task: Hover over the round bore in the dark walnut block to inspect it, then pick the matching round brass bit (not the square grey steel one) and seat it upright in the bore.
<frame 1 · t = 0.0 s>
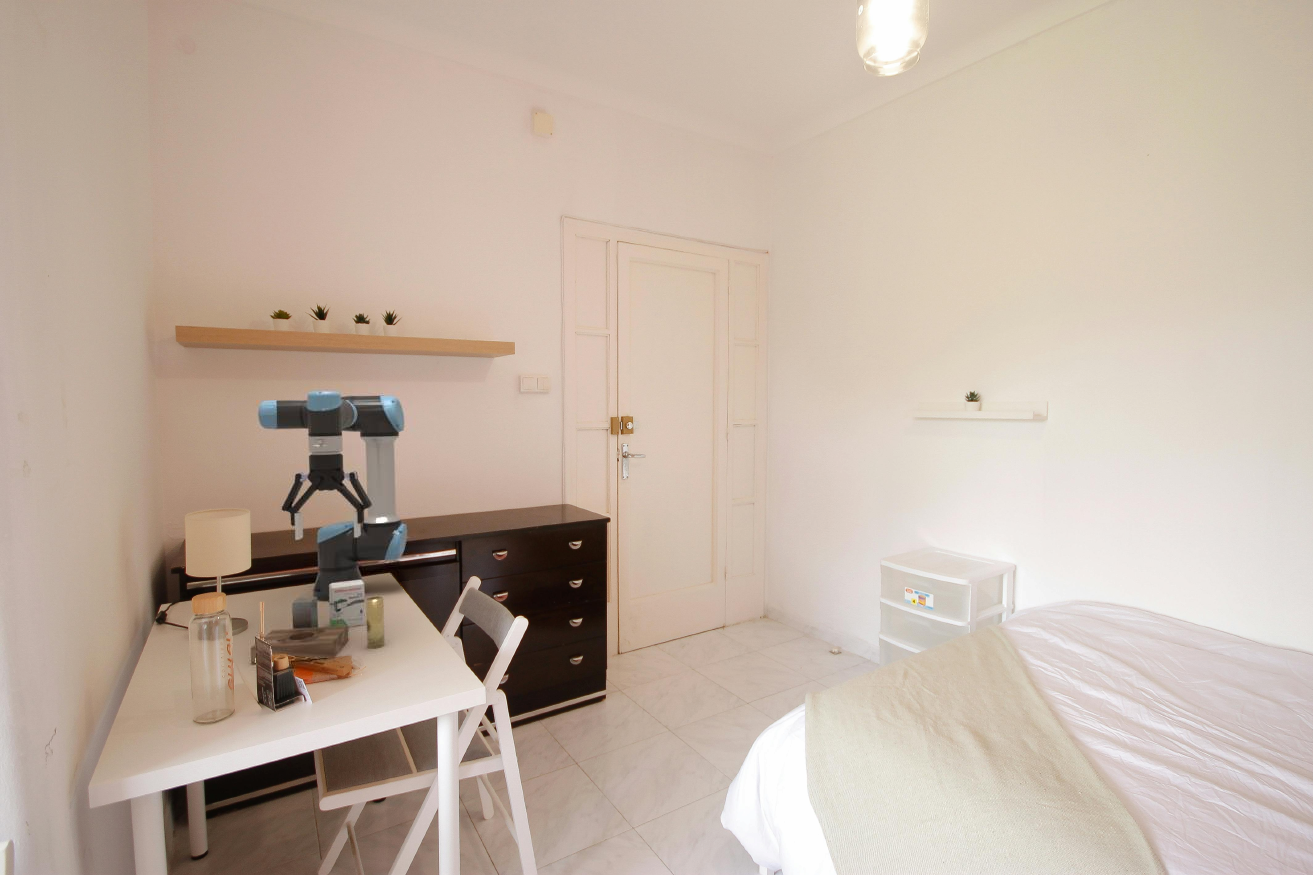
hand: (328, 537, 156), 28 cm above the table, fingers open, 13 cm apart
brass bit: (376, 645, 158), on the table
bore block: (302, 651, 155), on the table
ink box: (347, 625, 174), on the table
square bit: (306, 636, 165), on the table
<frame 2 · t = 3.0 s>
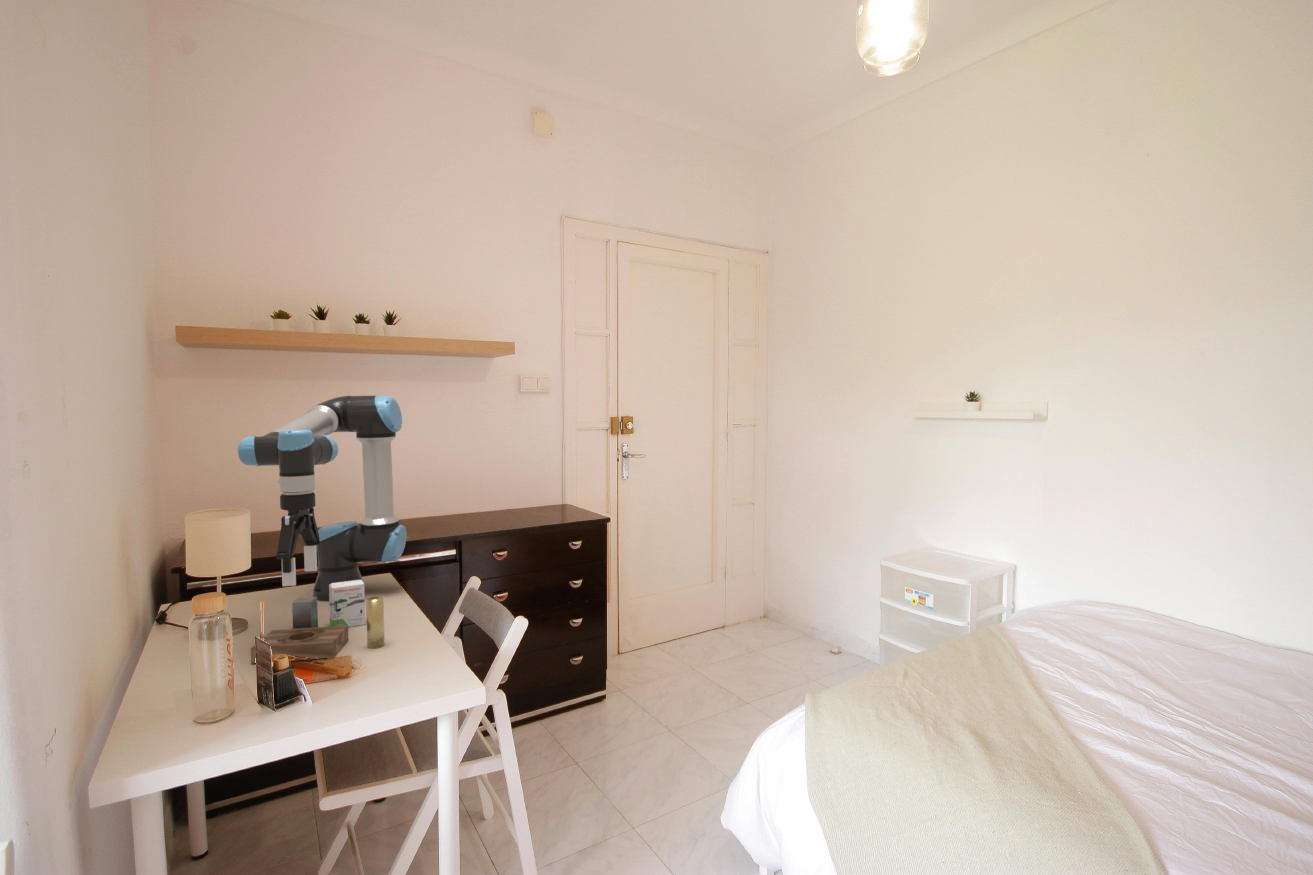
hand: (300, 578, 154), 19 cm above the table, fingers open, 13 cm apart
nothing on the table moved.
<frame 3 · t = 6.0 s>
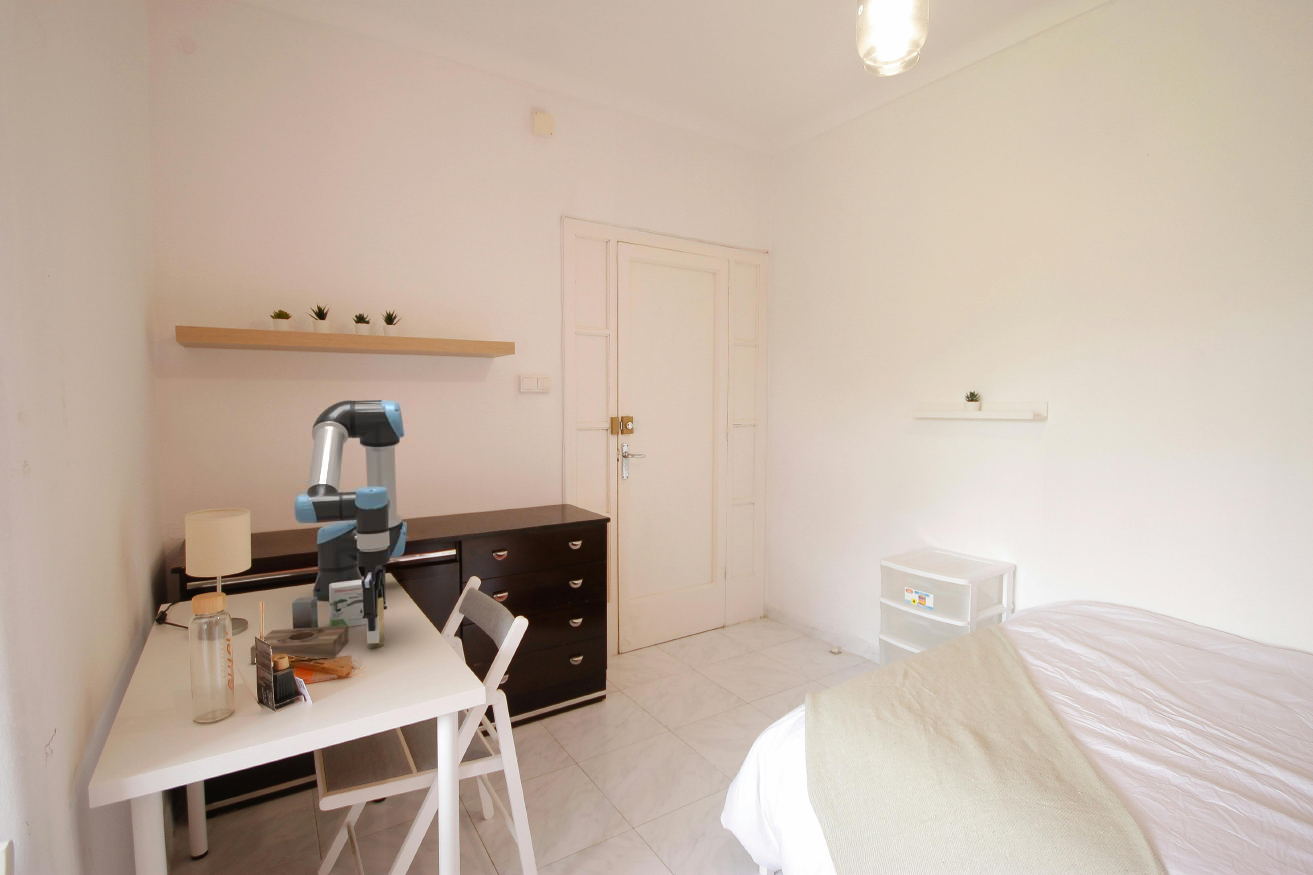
hand: (375, 638, 158), 2 cm above the table, fingers closed on brass bit, 4 cm apart
brass bit: (376, 645, 158), on the table, touching gripper
everything else where it was.
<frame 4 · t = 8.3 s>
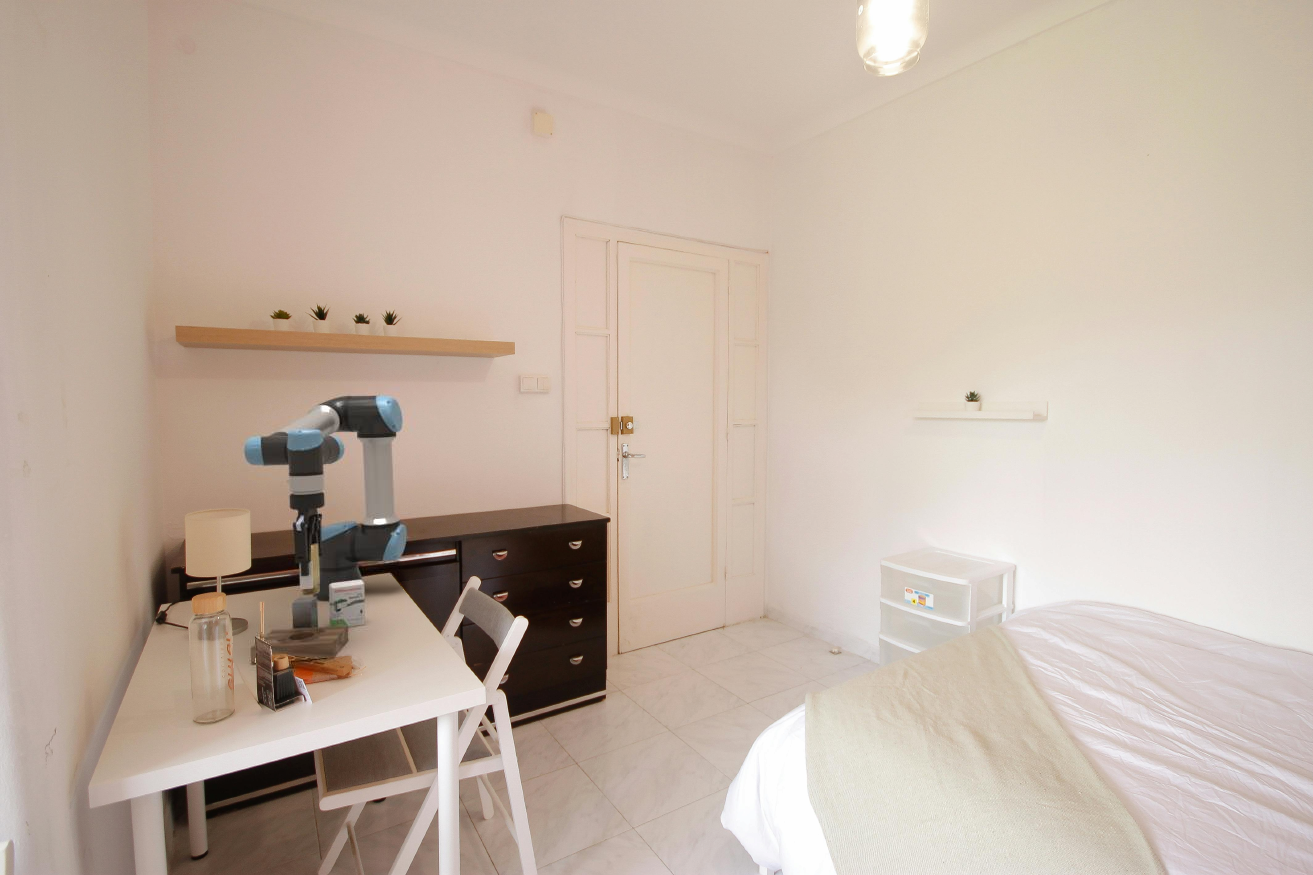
hand: (310, 585, 154), 16 cm above the table, fingers closed on brass bit, 4 cm apart
brass bit: (310, 592, 155), point 15 cm above the table, touching gripper
everything else where it was.
when the fingers open (5 cm above the table, at t = 10.9 s): brass bit drops 2 cm, resting in bore block.
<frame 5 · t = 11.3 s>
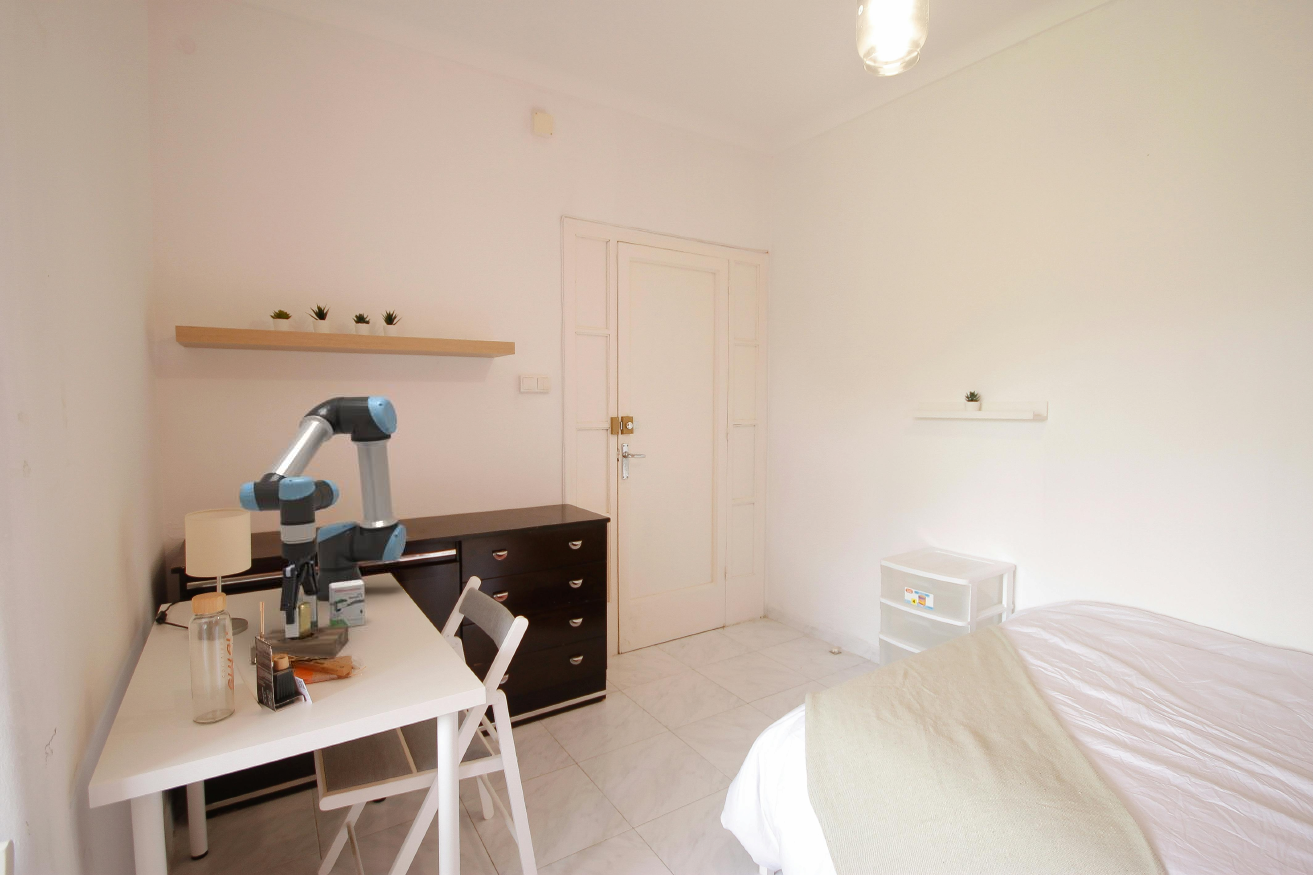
hand: (301, 628, 154), 6 cm above the table, fingers open, 10 cm apart
brass bit: (302, 651, 155), resting in bore block
everything else where it was.
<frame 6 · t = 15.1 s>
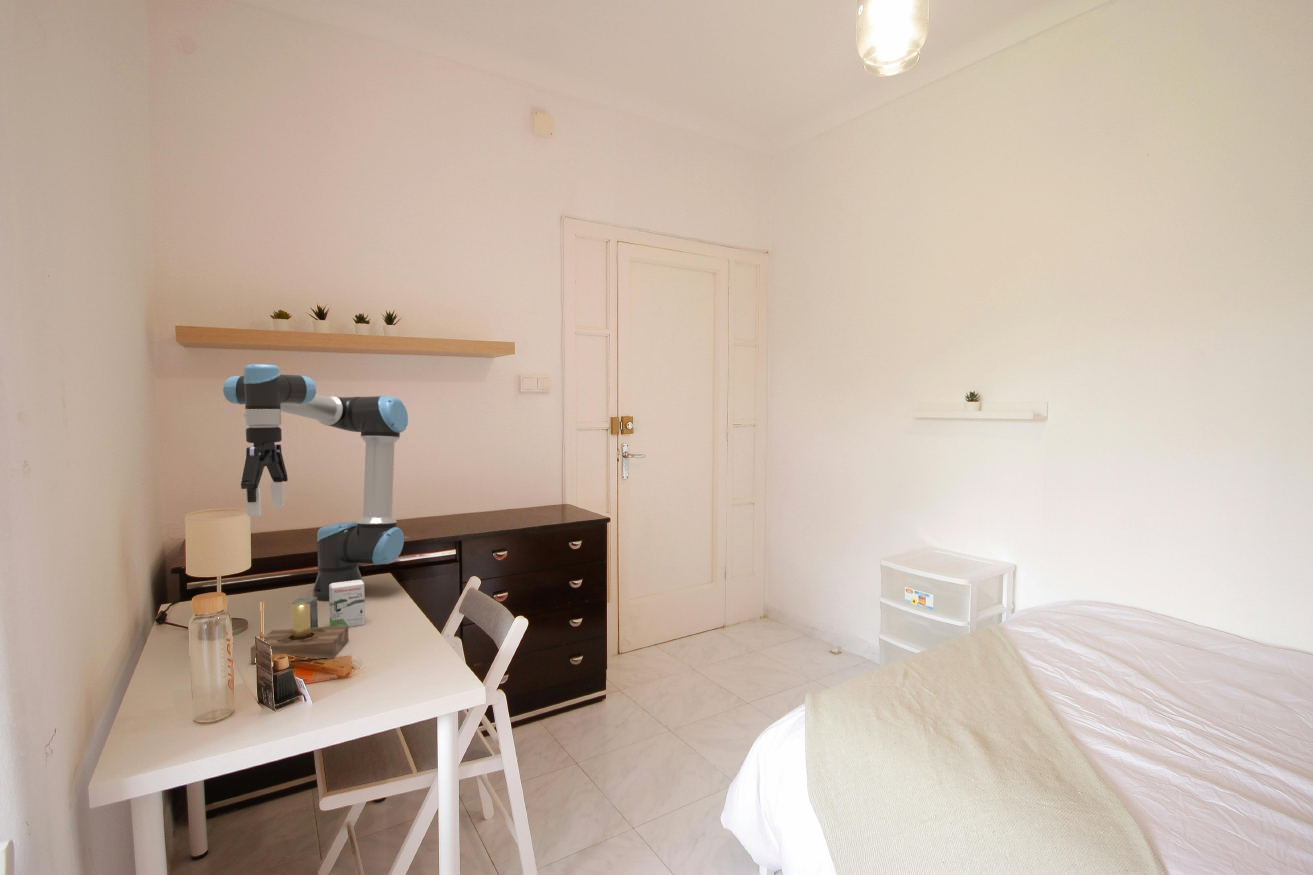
hand: (266, 511, 156), 35 cm above the table, fingers open, 13 cm apart
nothing on the table moved.
at the end: brass bit 0.0 cm off-centre on the bore block, point 0.0 cm above the bore block's base; brass bit tilted 0°; the gripper is holding nothing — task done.
